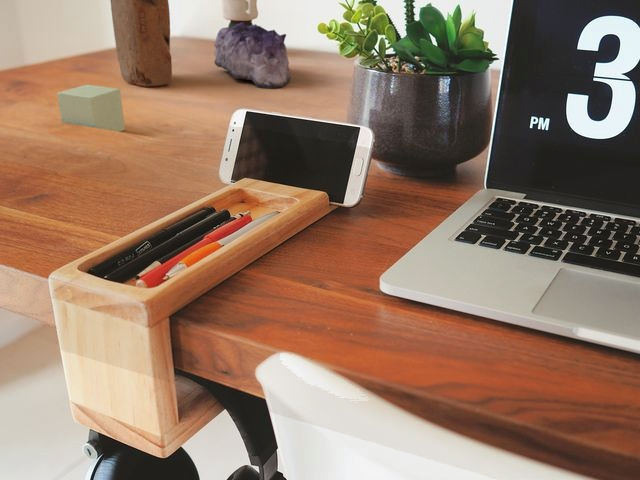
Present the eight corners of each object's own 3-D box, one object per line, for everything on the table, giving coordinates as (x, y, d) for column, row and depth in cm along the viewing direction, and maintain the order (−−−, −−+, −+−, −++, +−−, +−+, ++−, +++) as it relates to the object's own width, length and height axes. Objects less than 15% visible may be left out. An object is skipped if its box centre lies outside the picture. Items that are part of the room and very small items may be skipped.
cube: (63, 134, 95) (56, 92, 92) (93, 124, 99) (87, 84, 97) (97, 140, 93) (90, 97, 90) (125, 129, 97) (120, 88, 95)
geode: (315, 85, 125) (308, 26, 119) (253, 100, 120) (243, 39, 115) (267, 59, 140) (260, 6, 135) (211, 72, 135) (201, 17, 130)
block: (117, 78, 126) (100, -48, 116) (159, 74, 129) (146, -48, 120) (137, 90, 118) (121, -43, 109) (181, 86, 121) (169, -44, 112)
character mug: (269, 55, 148) (267, -13, 142) (238, 58, 144) (234, -12, 139) (246, 47, 156) (243, -18, 150) (215, 49, 152) (211, -17, 146)
